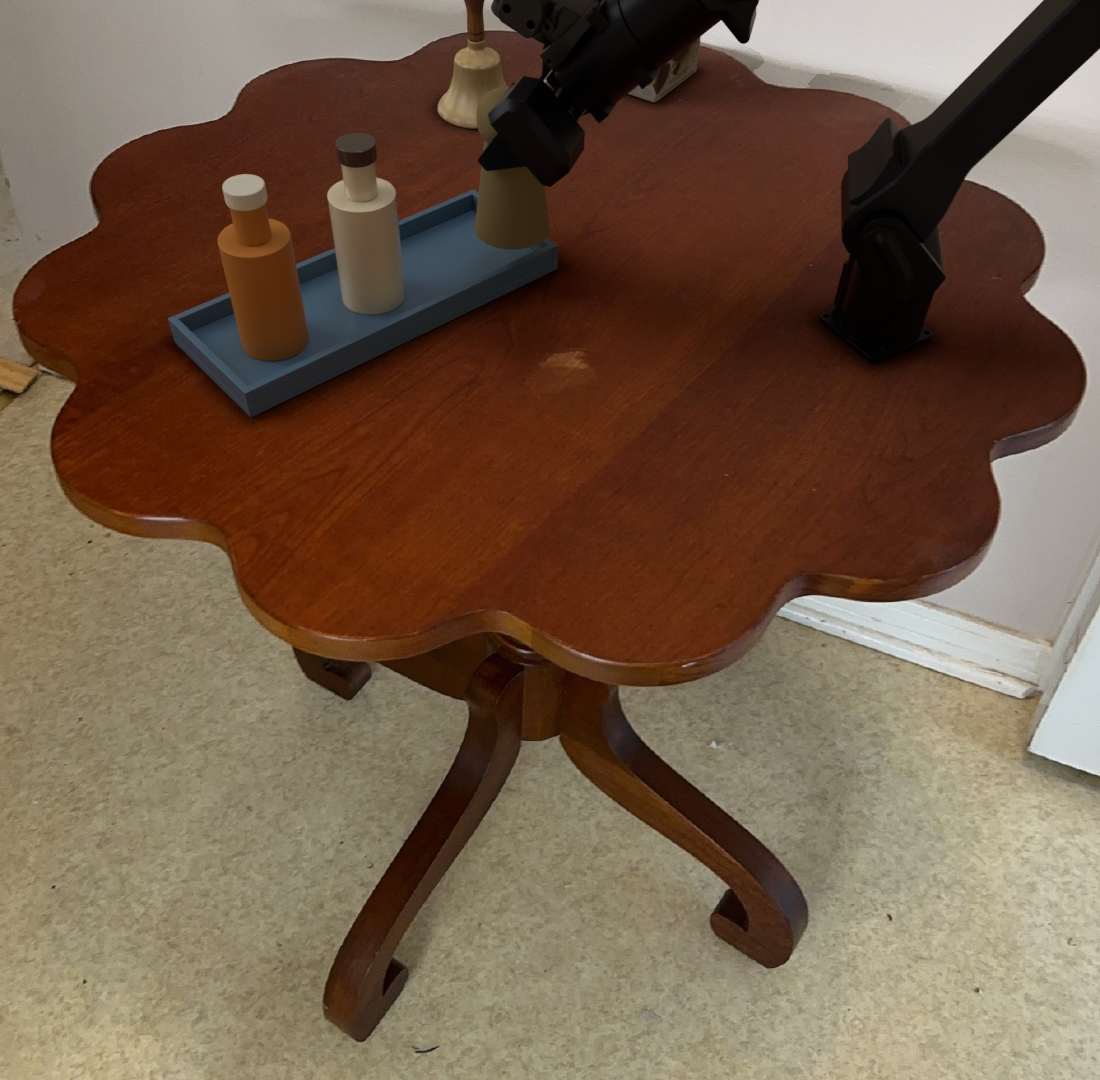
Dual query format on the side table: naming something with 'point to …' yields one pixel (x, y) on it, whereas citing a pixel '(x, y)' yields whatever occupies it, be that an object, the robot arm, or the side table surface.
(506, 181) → the olive pawn piece
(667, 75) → the coffee box
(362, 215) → the cream bottle
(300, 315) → the amber bottle
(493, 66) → the hand bell
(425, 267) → the tray
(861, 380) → the side table surface
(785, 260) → the side table surface
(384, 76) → the side table surface
